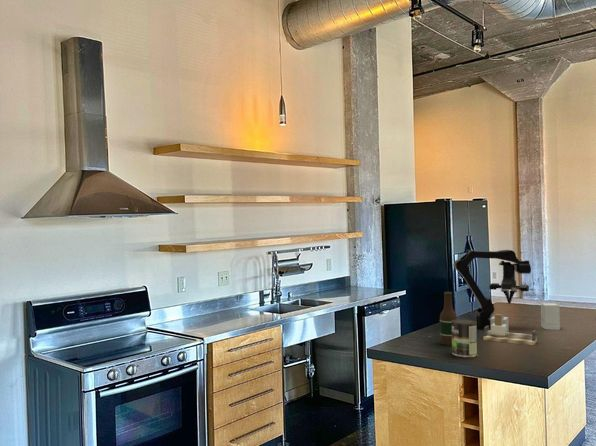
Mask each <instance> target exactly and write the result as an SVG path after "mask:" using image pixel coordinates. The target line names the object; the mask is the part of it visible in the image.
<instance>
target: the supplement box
mask: <svg viewBox="0 0 596 446" xmlns="http://www.w3.org/2000/svg"><path fill="white" fill-rule="evenodd" d="M560 311H561V309H560V304H557V303H553V302H552V303H548V302H543V303H540V324H541V326H540V327H541V328H542V329H544V330H552V331H556V330H558V331H559V330H560V329H561V322H560V321H561V320H560V315H561V313H560Z"/></svg>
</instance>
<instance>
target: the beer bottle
mask: <svg viewBox="0 0 596 446" xmlns="http://www.w3.org/2000/svg"><path fill="white" fill-rule="evenodd" d="M443 295H444V297H443V298H444V299H443V309H442V311H441V312H440V314H439V340H440V341H439V342H440V344H441V345H443V346H447V347H448V346H449V347H450V346H451V347H452V323H451V321H452V320H454V319H458V316H457V314H456V312H455V310H454V308H453V297H452V296H453V293H452V291H444V292H443Z"/></svg>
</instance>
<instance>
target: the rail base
mask: <svg viewBox="0 0 596 446" xmlns="http://www.w3.org/2000/svg"><path fill="white" fill-rule="evenodd" d="M482 340H483V341H488V342H499V343H506V342H507V343H508V344H509V343H510V344H517V345H526V346H535V345H536V343H537V342H538V337H537V330H536V329H533V330H532V332H531V334H528V333H520V332H518V333H517V332H505V336H504V335H494V334H491V330H490V329H489V326H486V327H484V329H483V339H482Z"/></svg>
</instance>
